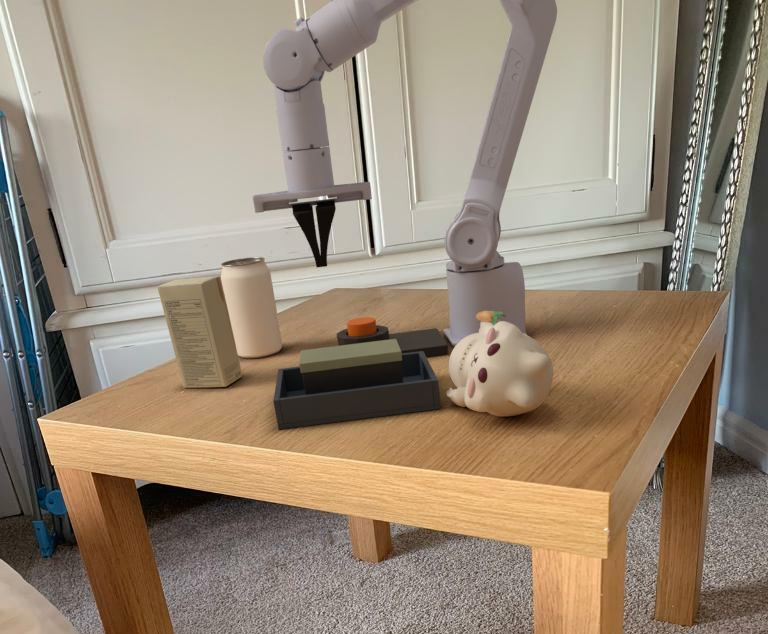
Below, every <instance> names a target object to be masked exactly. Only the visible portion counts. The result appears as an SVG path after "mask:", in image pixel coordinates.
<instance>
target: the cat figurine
mask: <svg viewBox="0 0 768 634" xmlns="http://www.w3.org/2000/svg"><path fill="white" fill-rule="evenodd" d="M499 315H501V316H504V317H506V315H505V314H504V313H503V312H496V311H495V312H494V311H482V312H479V313H478V314H477V315H476V318H477V319H478V320H479V321H481V323H480V329H479V333H474V334H471V335H468V336H466V337H465V338H463V339H462V340H461V341H460V342H458V344H457V345H456V346H453V349H452V351H451V353H450V356H449V360H448V373H449V376H450V379H451V381H452V383H453V384H454V386H455V387H456V388H452V387H449V388H448V389H447V390H446V392H445V393H446V396H447V397H448V398H449V399H450V401H451V402H453V404H454V405H456V406H458V407H462V408H466V407H467V408H468V409H469V410H472V411H474V412H477V413H488V414H489V415H491V416H496V417H512V416H513V417H514V416H519V415H523V414H526V413H529V412H532V411H534V410H536V409H538V408H539V407H540V406H541V405H542V404H544V402H545V401H546V400H547V398H548V395H549V394H550V391H551V388H552V384H553V378H554V365H553V361H552V359H551V357H550V354H549V353H548V352H547V350H546V349H545V348H544V347H543V346H542V345H541V343H540V342H538V341H536V339H534V338H533V337H531V336H529V335H528V334H527V335H526V334H523V333H522V332H521V331H520V330H519V328H518V327H516V326H515V325H513V324H511V323H509V322H506V321H499V320H498V318H499Z"/></svg>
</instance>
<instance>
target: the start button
mask: <svg viewBox="0 0 768 634" xmlns="http://www.w3.org/2000/svg"><path fill="white" fill-rule="evenodd" d="M376 325H377V321H376V318H374V317H370V316H369V317H364V316H363V317H357V318H352V319H349V320H348V321H347V322H346V329H348V335H349V336H364V335H370V334H374V333H376V332H377V329H376Z"/></svg>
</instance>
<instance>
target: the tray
mask: <svg viewBox="0 0 768 634" xmlns="http://www.w3.org/2000/svg"><path fill="white" fill-rule="evenodd" d="M401 365H402V375H403V383H397V384H389V385H381V386H373V387H365V388H357V389H349V390H341V391H333V392H325V393H317V394H309V395H305V388H304V382H303V376H302V373H301V370H300V365H299V366H291V367H283V368H278V369H277V376H276V381H275V387H274V394H273V401H272V402H273V407H274V412H275V418H276V419H275V420H276V423H277V429H278V430H284V429H293V428H300V427H309V426H315V425H325V424H332V423H339V422H340V423H342V422H348V421H355V420H363V419H371V418H379V417H386V416H395V415H403V414H411V413H418V412H425V411H434V410H441V399H440V386H439V379H438V377H437V375H436V373H435V371H434V369H433V368H432V366H431V364H430V361H429V359H428V357H426V356H425V354H424V352H423V351H419V352H411V353H403V354H402V361H401Z"/></svg>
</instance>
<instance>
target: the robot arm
mask: <svg viewBox="0 0 768 634" xmlns="http://www.w3.org/2000/svg"><path fill="white" fill-rule="evenodd" d="M417 1H418V0H330V1H329V2H328V3H327V4H325V5H324V6H323V7H321V8H320V9H318V10H317V11H315V12H314V13H312V14H311V15H310V16H308V17H307V18H306V19H305V18H303V17H301V16H300V17H299V18H297V19H296V20H295V21H294V22H293V24H294V26H295V30H294V29H290V28H282V29H278V30H276V32H275V33H274V35H273V36H272V37H270V38H269V40H268V41H267V42H266V44H265V47H264V50H263V54H262V65H263V69H264V72H265V74H266V76H267V78H268V80H269V81H270V82H271V83H272V84H273V86H272V87H273V93H274V99H275V100H274V101H275V106H276V108H275V109H276V117H277V124H278V131H279V138H280V144H281V145H280V146H281V151H282V156H283V165H284V170H285V177H286V184H287V185H286V186H287V190H282V191H276V192H267V193H261V194H254V195H252V202H253V207H254V213H255V214H257V213H258V214H259V213H264V212H271V211H278V210H286V209H287V210H288V209H292V216H293V218H294V219H295V220H296V222H297V224H298V225H299V228H300V229H301V231H302V233H303V234H304V237H305V239H306V240H307V243H308V245H309V248H310V250H311V253H312V255H313V258H314V262H315V266H316V267H315V268H325V267H328V247H329V239H330V233H331V229H332V228H331V227H332V225H333V220H334V218H335V214H336V210H337V209H336V207H337V206H336V203H346V202H353V201H368V200H372V198H373V197H372V187H371V182H370V181H362V182H353V183H343V184H335V179H334V173H333V172H334V171H333V163H332V157H331V148H330V140H329V132H328V124H327V117H326V108H325V104H324V99H323V91H322V83H321V82H322V81H323V79H324V76H325V73H331V72H333V71H334V70H336V69H337V68H339V67H340V66H342V65H343V64H345V63H347V62H348V61H349V60H351V59H353V58H354V57H355V56H357V55H358V54H360V53H362V52H363V51H364V50H366V49H367V48H368V47H370V46H372V45H374V44H375V43H376V42H377V40H378V35H379V31H380V29H381V25H382V23H383V22H385V21H386V20H388V19H390V18H391V17H393V16H395V15H396V14H399V12H401V11H403V10H404V9H406V8H407V7H409V6H411V5H412V4H414V3H416V2H417ZM499 2H500V4H501V7H502V9H503V11H504V12H505V15H506V17H507V19H508V21H509V23H510V24H511V25H510V29H509V30H510V31H509V34H508V37H507V41H506V44H505V49H504V51H503V56H502V60H501V64H500V67H499V71H498V75H497V78H496V82H495V85H494V89H493V93H492V97H491V101H490V104H489V107H488V111H487V115H486V119H485V122H484V126H483V128H482V129H483V130H482V133H481V137H480V139H479V140H480V141H479V144H478V148H477V151H476V154H475V159H474V163H473V167H472V170H471V172H470V173H471V174H470V177H469V180H468V184H467V186H466V190H465V193H464V196H463V200H462V203H461V207H460V209H459V211H458V213H457V214H456V215H455V217H454V218H453V219H452V220H451V222H450V223H449V225H448V226H447V229H446V231H445V235H444V248H445V252H446V254H447V256H448V257H449V259H450V261H449V262H447V263H446V264H445V271H446V284H447V302H448V317H449V318H448V319H449V328H444V329H443V333H444V335H445V337H446V338H447V340H448V341H449V343H450V344H451V346H452V347H455V346H456V345H457V344H458V342H460V341H461V340H462V339H463V338H465V337H466V336H468V335H471V334H474V333H479V329H480V323H481V321H479V320H478V319H477V318H476V315H477V314H478V313H479V312H482V311H494V312H495V311H496V312H503V313H504V314H505V315H506V317H504V316H501V315H499V318H498V320H499V321H506V322H509V323H511V324H513V325H515V326H516V327H518V328H519V330H520V331H521V332H522V333H523V334H526V335H528V333H527V332H526V329H527V328H526V287H525V286H526V285H525V284H526V283H525V276H524V272H523V267H522V265H521V263H520V262H518V261H509V262H505V257H504V256H502V255H501V254H500V252H498V250H497V249H498V247H499V246H498V245H499V241H500V238H501V233H502V228H501V227H502V226H501V221H500V213H501V208H502V204H503V201H504V198H505V195H506V191H507V188H508V183H509V181H510V177H511V174H512V170H513V167H514V164H515V161H516V158H517V154H518V150H519V146H520V143H521V140H522V137H523V133H524V130H525V127H526V123H527V120H528V116H529V113H530V111H531V107H532V103H533V100H534V96H535V93H536V89H537V86H538V83H539V79H540V76H541V73H542V70H543V65H544V63H545V59H546V56H547V53H548V49H549V46H550V43H551V39H552V36H553V32H554V29H555V26H556V22H557V17H558V6H557V2H556V0H499ZM319 197H327V198H325V199H317V200H316V199H315V200H307V201H299V200H301V199H302V200H303V199H311V198H313V199H314V198H319ZM313 206H314V207H315V214H314V207H313ZM315 215H316V222H317V230H318V235H319V236H318V237H319V242H318V238H317V231H316V223H315Z"/></svg>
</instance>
